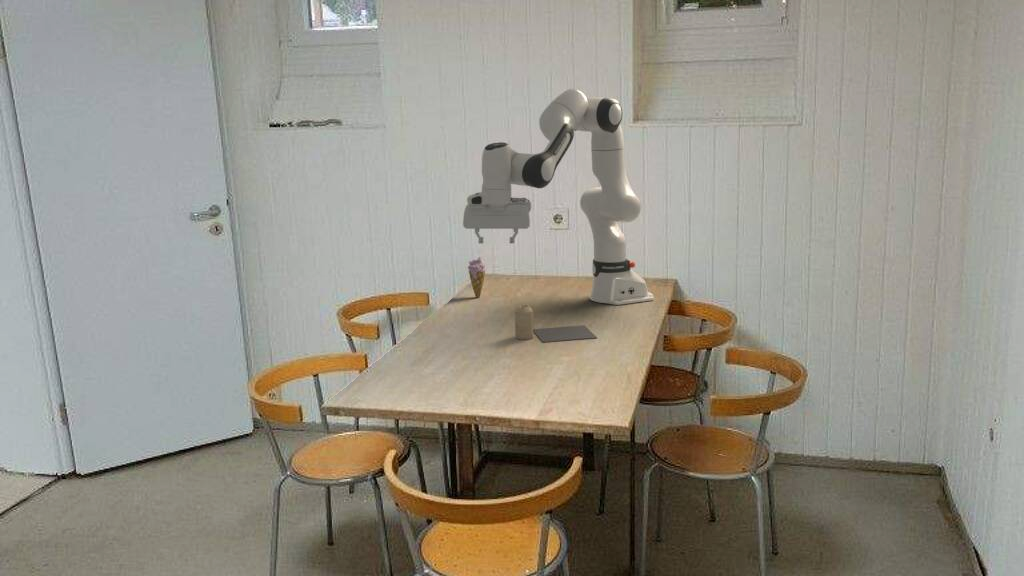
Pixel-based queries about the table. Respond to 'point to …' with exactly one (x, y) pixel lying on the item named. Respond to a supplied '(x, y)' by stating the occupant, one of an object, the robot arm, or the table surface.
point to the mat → (564, 333)
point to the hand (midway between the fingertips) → (496, 243)
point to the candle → (524, 322)
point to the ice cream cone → (477, 275)
